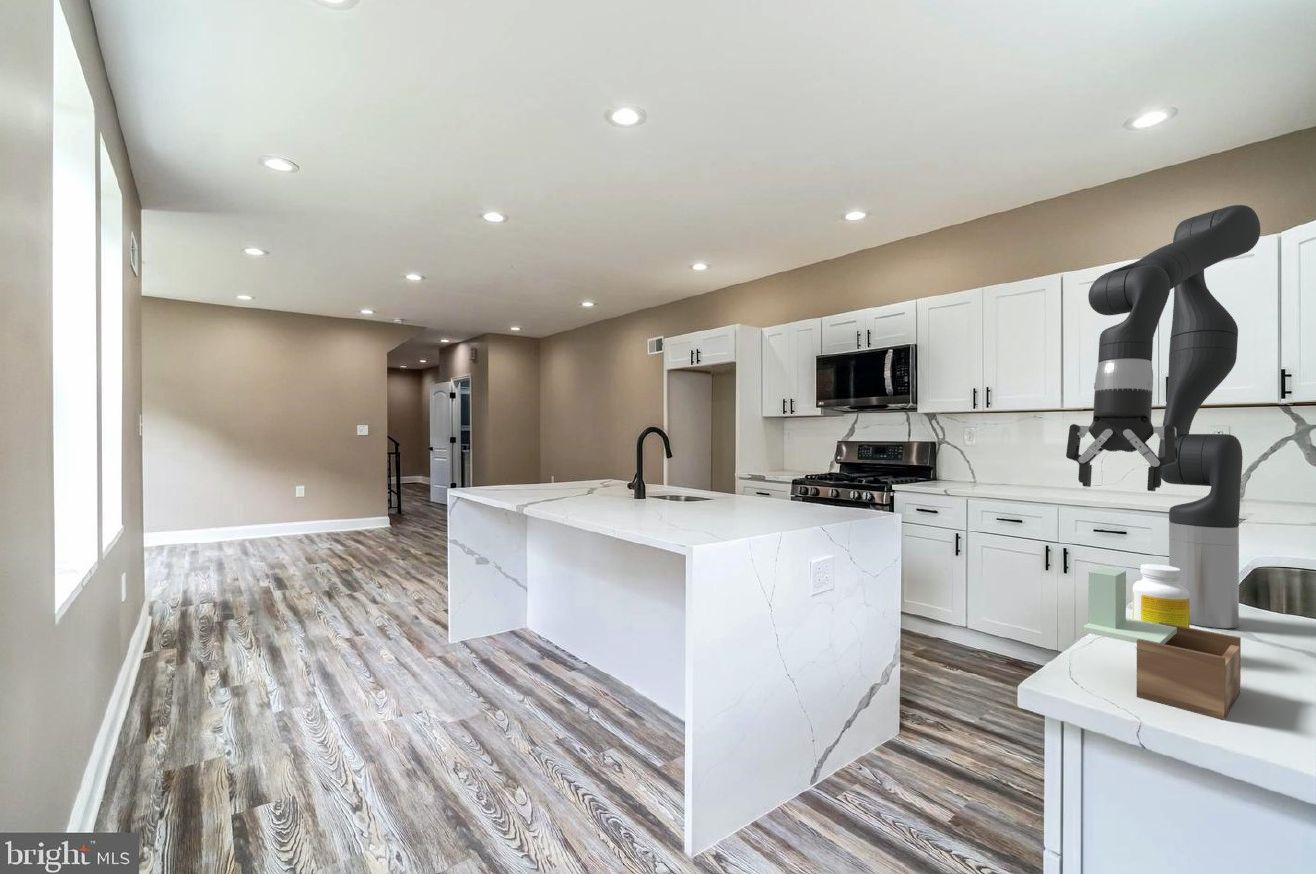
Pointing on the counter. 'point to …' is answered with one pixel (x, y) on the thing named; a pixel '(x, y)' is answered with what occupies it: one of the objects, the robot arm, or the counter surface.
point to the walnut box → (1191, 671)
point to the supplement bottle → (1160, 596)
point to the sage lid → (1118, 611)
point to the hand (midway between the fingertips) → (1117, 488)
